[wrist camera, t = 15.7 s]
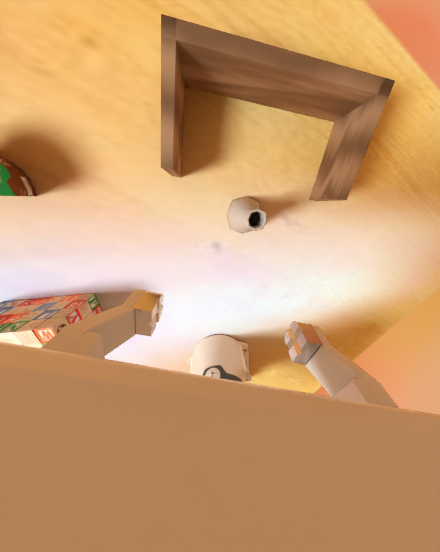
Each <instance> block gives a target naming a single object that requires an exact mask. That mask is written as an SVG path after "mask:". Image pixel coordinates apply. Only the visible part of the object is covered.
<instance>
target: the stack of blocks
mask: <svg viewBox="0 0 440 552" xmlns="http://www.w3.org/2000/svg"><path fill="white" fill-rule="evenodd" d="M101 312H103V310H102V308H101V306H100V304H99V302H98V299H97V297H96V295H95V293H94V294H79V295H67V296H56V297H50V298H41V299H30V300H29V299H26V300H16V301H5V302H1V303H0V342H6V343H12V344H18V345H24V346H30V347H36V348H41V347H42V346H43V345H45V344H46V343H47V342H48V341H49V340H50V339H51V338H53V337H54V336H55V335H56V334H57V333H58V332H59V331H61V330H62V329H63V328H64V327H65V326H67V325H70V324H72V323H75V322H78V321H80V320H83V319H85V318H88V317H90V316H93V315H95V314H98V313H101Z"/></svg>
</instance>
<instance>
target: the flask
mask: <svg viewBox="0 0 440 552" xmlns="http://www.w3.org/2000/svg"><path fill="white" fill-rule="evenodd" d="M227 218H228V222H229V227H230V229H232V230H235V231H237V232H240V233H246V232H249V231H253V230H255V231H256V230H259V229H263V228H264V225H265V223H266V221H267V218H266V212H264V211H262V210H260V206H259V202H257V201H255V200H253V199H251V198H249V197H247V196H246V197H242V198H239V199H235V200H232V202H231V205H230V207H229V210H228V213H227Z"/></svg>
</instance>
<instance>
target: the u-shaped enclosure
mask: <svg viewBox="0 0 440 552" xmlns="http://www.w3.org/2000/svg"><path fill="white" fill-rule="evenodd" d="M394 82H395V81H394V80H391V79H387V78H384V77H380V76H377V75H373V74H370V73H366V72H363V71H359V70H356V69H352V68H349V67H345V66H342V65H338V64H335V63H331V62H328V61H324V60H321V59H317V58H314V57H310V56H307V55H303V54H300V53H296V52H293V51H289V50H286V49H282V48H279V47H275V46H272V45H268V44H265V43H261V42H258V41H254V40H251V39H247V38H243V37H240V36H236V35H233V34H229V33H226V32H222V31H219V30H215V29H212V28H208V27H205V26H201V25H198V24H194V23H191V22H187V21H184V20H180V19H177V18H173V17H170V16H166V15H163V14H161V168H163V169H164V170H165V171H167V172H168V173H169V174H170V175H172V176H176V177H181V165H182V143H183V120H184V97H185V87H190V88H194V89H198V90H202V91H206V92H211V93H215V94H219V95H223V96H227V97H232V98H236V99H240V100H244V101H248V102H253V103H257V104H261V105H265V106H269V107H274V108H278V109H282V110H286V111H290V112H295V113H299V114H303V115H307V116H311V117H316V118H320V119H324V120H328V121H332V122H335V123H334V126H333V129H332V132H331V135H330V138H329V141H328V144H327V147H326V150H325V153H324V156H323V160H322V163H321V166H320V169H319V172H318V175H317V178H316V181H315V184H314V187H313V190H312V193H311V196H310V199H309V200H315V201H329V200H347V197H348V195H349V192H350V190H351V188H352V185H353V183H354V180H355V178H356V175H357V173H358V170H359V168H360V165H361V163H362V160H363V158H364V156H365V153H366V151H367V148H368V146H369V143H370V141H371V138H372V136H373V133H374V131H375V128H376V126H377V124H378V121H379V119H380V116H381V114H382V111H383V109H384V106H385V104H386V101H387V99H388V96H389V94H390V92H391V89H392V87H393V84H394Z"/></svg>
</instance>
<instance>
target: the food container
mask: <svg viewBox="0 0 440 552" xmlns="http://www.w3.org/2000/svg"><path fill="white" fill-rule="evenodd" d="M0 196H36V192H35V188H34V187H33V185H32V183H31V181H30V179H29V178H28V177H27V175H26V174H25V173H24V172H23V170H21V169H20V168H19V167H18V166H16V165H15V164H14V163H12V162H11V161H9V160H7V159H5V158H2V157H0Z"/></svg>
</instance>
